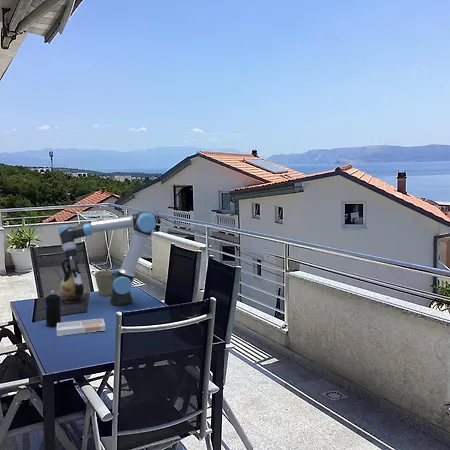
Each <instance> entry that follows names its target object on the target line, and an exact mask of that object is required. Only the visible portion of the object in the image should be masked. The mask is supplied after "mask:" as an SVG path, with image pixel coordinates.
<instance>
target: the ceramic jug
mask: <svg viewBox="0 0 450 450" xmlns="http://www.w3.org/2000/svg"><path fill="white" fill-rule="evenodd" d="M60 262H61V268H62V269H61V270H62V271H63V273H64V277H63V278H62V280H61V282H60V286H59V295H60V298H62V299H63V300H64V302H65V304H67V303H68V304H74V303H75V304H77V303H79V302H80V300H81V298H82V296H83V294H84V292H85V291H84V289H85V288H84V285H83V283H82V284H79V285H78V284H77V283H76V284H75V282H74V278H73V274H72V273H71V266H70V262H69V258H66V257H65V258H62V260H61V261H60ZM65 263H67V264H66V266H65ZM78 264H79V261H77V265H78Z"/></svg>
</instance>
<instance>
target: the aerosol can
mask: <svg viewBox="0 0 450 450" xmlns="http://www.w3.org/2000/svg"><path fill="white" fill-rule="evenodd" d="M44 300H45V317H46V319H45V320H46V324H45V326H46V327H47V328H57V323H62V320H61V318H62V317H61V296H59V295H58V294H55V290H51V291H50V293H49V294H48V295H47V296H46V297H45V298H44Z"/></svg>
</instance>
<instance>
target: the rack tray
mask: <svg viewBox="0 0 450 450" xmlns="http://www.w3.org/2000/svg"><path fill="white" fill-rule="evenodd" d="M96 331H105V332H106V324H105V320H104V318H94V319H92V318H91V319H84V320H73V321H64V322H62V321H61V323H57V327H56V337H57V336H60V337H64V336H63V335H70V334H78V333H86V332H96ZM70 336H71V335H70Z"/></svg>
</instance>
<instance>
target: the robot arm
mask: <svg viewBox="0 0 450 450" xmlns="http://www.w3.org/2000/svg"><path fill="white" fill-rule="evenodd" d="M156 227H157V219H156V217H155V216H154V215H153V214H152V213H151V212H148V211H142V212H138V213H132V214H130V215H128V216H121V217H113V218H106V219H100V220H92V221H80V222H79V224H77V225H75V226H71V224H64V225H61V226H59V227H58V234H59V238H60V242H61V248H62V250H63V254H64V257H65V258H67V259H69V262H70V266H71V273H72V274H73V278H74V282H75V284H76V283H77V284H78V285H79V284H83V281H82V277H81V273H82V272H81V271H80V269H79V266H78V264H77V258H76V257H77V256H78V254H79V253H78V249H77V245H76V241H75V240H77V239H81V238H85V237H89V236H91V235H93V234H94V233H100V232H101V233H103V232H107V231H108V232H109V231H117V230H122V229H129V228H132V229H133V235H132V238H131V242H130V243H129V247H128V249H127V252H126V255H125V256H124V259H123V261H122V264H121V266H120V268H116V269H112V270H111V271H112V293H111V295H110V298H109V304H110V305H111V306H116V307H123V306H124V305H125V306H129V305H132V304H133V303H134V298H133V296H132V293H131V289H132V288H133V287H132V286H133V282H134V279H135V276H136V275H135V270H136V268H137V265H138V262H139V261H140V257H141V254H142V252H143V250H144V247H145V245H146V242H147V239H148V238H150V237H151V236H152V234H153V230H155V228H156ZM131 303H132V304H131ZM128 304H129V305H128ZM125 306H124V307H125Z"/></svg>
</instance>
